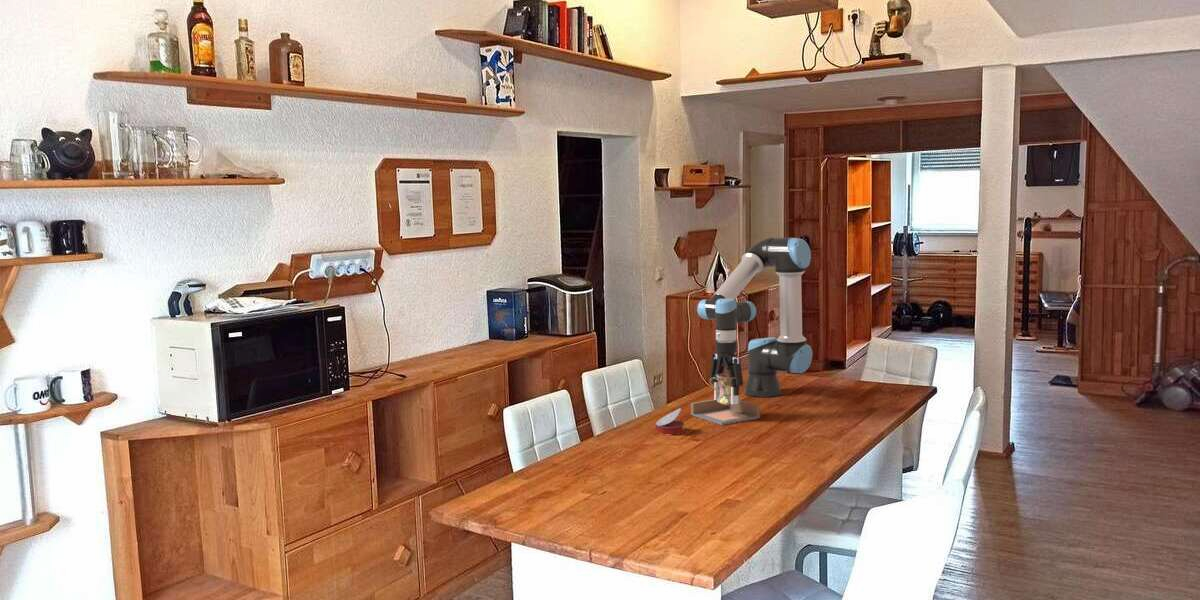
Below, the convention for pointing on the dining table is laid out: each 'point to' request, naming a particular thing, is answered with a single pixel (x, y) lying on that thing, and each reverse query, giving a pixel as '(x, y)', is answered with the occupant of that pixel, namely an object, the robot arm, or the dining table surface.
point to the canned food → (670, 424)
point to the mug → (724, 388)
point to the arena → (725, 411)
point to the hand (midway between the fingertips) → (726, 401)
